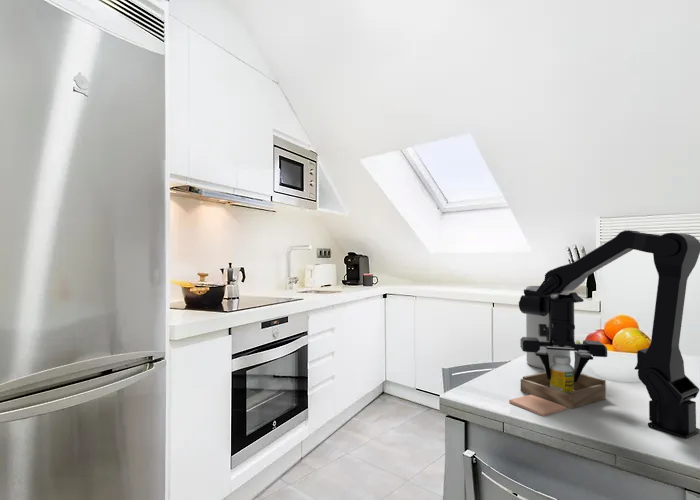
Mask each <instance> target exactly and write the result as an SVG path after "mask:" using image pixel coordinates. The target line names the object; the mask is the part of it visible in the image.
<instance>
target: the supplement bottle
mask: <svg viewBox="0 0 700 500" xmlns="http://www.w3.org/2000/svg"><path fill="white" fill-rule="evenodd" d="M571 359H572V358H571V356H570V357H568V356H564V355H553V362H554V363H552V364H551V365H550V385H549V387H550V388H553V389H556V390H559V391H562V392H565V393H568V394H570V392H571V391H575V390H574V366H572V365H571V363H572V362H571V361H572V360H571ZM569 364H570V365H569Z"/></svg>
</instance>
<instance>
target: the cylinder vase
mask: <svg viewBox="0 0 700 500" xmlns="http://www.w3.org/2000/svg"><path fill="white" fill-rule="evenodd" d="M539 287H540V285H527V286H525V289H532V290H538V288H539ZM570 293H571V291H567V292H563V293H561V294H564V295H569V294H570ZM556 295H558V294H554V295H551V297H555V296H556ZM525 316H526V321H525V322H526V323H525V325H526V326H525V327H526V328H525V330H526V332H525V333H526V336H525V337H534V338H537V339H538V340H539V341H543V342H549V341H546V337H540V336H539V334H538V325H539V324H546V325H547V327H548V326H549V313H548V314H547V315H546V316H538V315H531V314H525ZM564 347H565V346H564ZM566 347H567V346H566ZM546 352H547V354H548V355H549V365H551V364H552V363H554V362H553V355H564V356H568V357H570V358H571V351H568V350H552V349H547V351H546ZM526 362H527V364H528V365H529V366H531V367H534V368H538V369H541V370H545V369H544V366H543V363H542V361H541V359H540V357H539V356H536V355H535V354H534V352H526ZM569 365H571V363H570V364H569Z"/></svg>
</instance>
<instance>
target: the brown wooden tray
mask: <svg viewBox="0 0 700 500" xmlns="http://www.w3.org/2000/svg"><path fill="white" fill-rule="evenodd" d="M606 387H607V386H606V380H605V379H602V378H600V377H599V378H598V377H595V376H590V375H587V374H583V373H581V374H580V376H579V378H578V380H577V382H574V391H571V392H570V394H568V393H565V392H562V391H559V390H556V389H553V388H550V380H548V378H547V375H546V372H545V371H543V372H540V373H534V374H528V375H525V376H522V378H520V391H521V392H523V393H525V394H528V395H531V394H532V395H534V396H537V397H540V398H543V399H546V400H548V401H551V402H554V403H557V404H560V405H562V406H565V407H566V409H571V410H572V409H575V408H578V407H581V406H585V405H588V404H589V405H590V404H593V403H596V402H599V401H603V400H606V398H607V396H606V395H607V394H606V393H607V391H606V390H607V389H606Z"/></svg>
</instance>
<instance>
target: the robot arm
mask: <svg viewBox="0 0 700 500" xmlns="http://www.w3.org/2000/svg"><path fill="white" fill-rule="evenodd" d="M633 250H635V251H639V252H644V253H648V254H652V255H653V263H654V266H655V269H656V272H657V275H658V280H657V281H658V282H657V290H656V297H655V307H654V313H653V321H652V331H651V339H650V343H649V346H648V347H647V348H643V349H639V350H637V353H636V359H637V362H636V365H635V367H634V370H636V371H637V377H638V380H640V381H641V383H642V384H643V385H644V386H645V388H646V390H647V394H648V395H649V398H650V399H651V400H649V401H648V418H649V419H648V420H649V421H650V422H647V426H648V427H650V428H654V429H656V430H660V431H662V432H665V433H669V434H671V435H674V436H677V437H680V438H684V439H688V438H690V437H692V436H694V435H696V434H698V433H700V428H697V406H696V404H697V402H696V401H695V400H694V401H693V400H692V399H695V398H697V397H698V394H699V393H700V388H699V387H698V386H697V385H696V384H695V383H694V382H693V381H692V380H691V379H690V378H689V377H688V376H687V375H686V373H685V372H686V371H685V364H684V363H685V362H684V358H683V356H682V353H681V349H680V340H681V339H680V338H681V330H682V322H683V316H684V315H683V314H684V306H685V300H686V291H687V285H688V279H689V276H690V275H691V273H692V271H693V270H694V268H695V267H696V264H697V262H698V259H699V256H700V240H698V239H697V237H695V236H694V235H691V234H687V233H681V232H680V233H678V232H666V233H663V234H661V235H660V234H653V233H646V232H640V231H638V230H630V229H628V230H627V229H625V230H622V231H619V233H617V235H615V236H614V237H612V238H611V239H609V240H608V241H606V242H605V243H603V244H601V245H599V246H598V247H596V248H594V249H593V250H591V251H590V252H588V253H586V254H585V255H583V256H582V257H580V258H578V259H577V260H575V261H573V262H570V263H567V264H564V265H559V266H558V267H555V268H553V269H550V270H548V271H547V272H546V273H545V274H544V280H543V281H542V283H541V284H540V285H539V286H540V287H539V288H538V290H532V289H526V288H525V289H523V294H522V295H521V296H520V299H519V301H518V308H519V311H520V312H521V313H522V314H524V315H526V314H531V315H538V316H546V315H547V314H548V313H549V326H548V327H547V325H546V324H539V325H538V334H539V336H540V337H546V341H549V342H543V341H539V340H538V339H537V338H534V337H526V336H522V337H521V338H520V340H519V343H520V346H519V347H520V348H521V350H522V352H525V353H527V352H534V354H535V355H536V356H539V357H540V359H541V361H542V363H543V366H544V369H543V370H544V372H546V375H547V378H548V380H550V365H549V355H548V354H547V352H546V351H547V349H552V350H568V351H570V352H573V354H574V364H573V365H574V366H573V369H574V382H577V380H578V378H579V376H580V374H582V372H583V371H584V368H585V367H586V365H587V364H588V362H589V361H590V360H591V361H592V360H594V357H595V358H596V357H598V358H607V357H608V348H607V346H606V345H605V344H603V343H602V342H601V341H599V340H585V339H584V340H582V343H576V341H575V329H576V324H575V304H576V303H577V304H578V303H583V302H584V299H583V298H582V297H581V296H580V295H579V294H578V293H577V292H575V291H574V290H576V289H577V288H578V287H579V286H581V285H582V284H583V283H584V282H585V281H586V279H587V278H588V277H589V276H591V275H592V274H593V273H594V272H596V271H598V270H600V269H601V268H603V267H605V266H607V265H609V264H611V263H612V262H615V261H616V260H617V259H619V258H621V257H623V256H625V255H627V254H628V253H630V252H632V251H633ZM567 291H570V294H569V295H564V294H561V293H563V292H567ZM572 291H574V292H572ZM554 294H558V295H556V296H555V297H551V295H554ZM564 346H565V347H564ZM566 346H567V347H566Z"/></svg>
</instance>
